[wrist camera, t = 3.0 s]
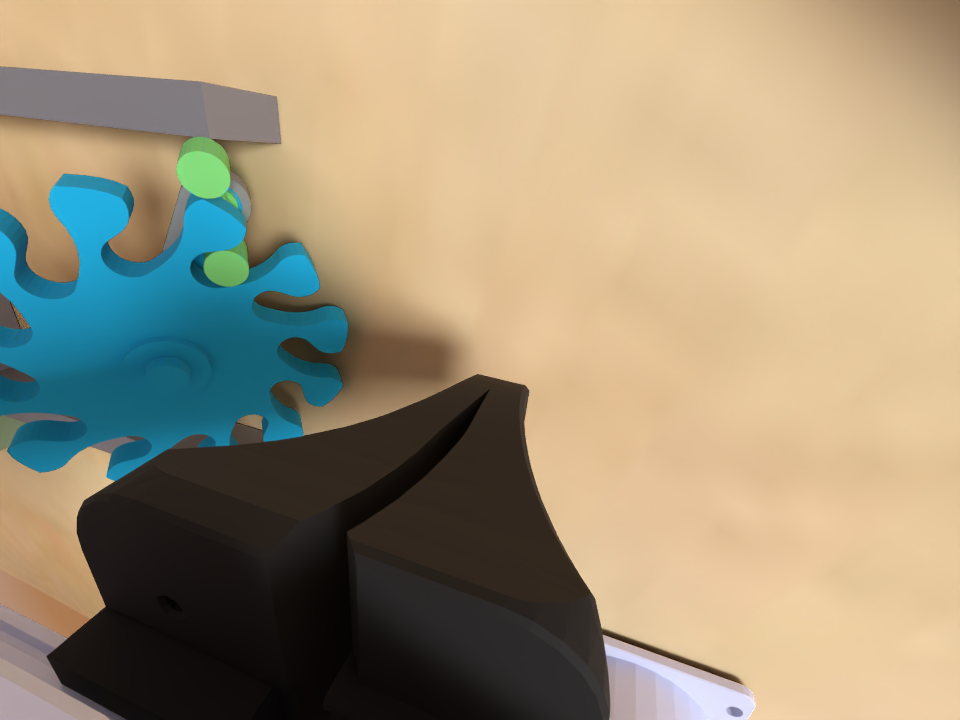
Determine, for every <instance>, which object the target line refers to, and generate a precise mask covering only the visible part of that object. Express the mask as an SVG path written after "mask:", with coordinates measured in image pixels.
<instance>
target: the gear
mask: <svg viewBox="0 0 960 720" xmlns="http://www.w3.org/2000/svg"><path fill="white" fill-rule="evenodd" d="M177 176H178V179H179V181H180V182H181V184H182V185H181V189H180V192H179V196H178V199H177V202H176V206H175V209H174V213H173V216H172V220H171V223H170V226H169V230H168V233H167V237H166V240H165V244H164V247H163V251H162V253H161V254H159V255H158V256H157V257H155V258H154V259H152V260H150V261H147V262H139V263H137V262H131V261H127V260H125V259H123V258H121V257H119V256H118V255H116V254H115V253H114V252H113V251H112V250H111V248H110V247H109V245H108V240H110V239H111V238H113V237H114V236H116V235H117V234H119V233H120V232H121V231H122V230H123V229H124V228H125V227H126V225H127V223H128V221H129V219H130V216H131V213H132V211H133V207H134V199H133V196H132V193H131V191H130V190H129V188H128V187H127V186H125V185H123V184H120V183H118V182H115V181H112V180H108V179H104V178H100V177H93V176H86V175H73V174H63V176H62V177H61V178H60V179H59V180H58V182H57V183H56V184H55V185H54V187H53V188H52V190H51V192H50V196H49V202H50V207H51V209H52V211H53V213H54V214H55V216H56V217H57V218H58V219H59V220H60V222H61V223H62V224H63V225H64V226H65V227H66V229H67V230H68V232H69V234H70V235H71V237H72V238H73V240H74V243H75V245H76V248H77V250H78V254H79V260H80V268H79V276H78V279H77V280H75V281H72V282H66V283H59V282H53V281H49V280H46V279H44V278H41V277H40V276H38V275H36V274H35V273H34V272H33V271H32V270H31V269H30V268H29V266H28V265H27V262H26V251H27V244H28V236H27V233H26V230H25V229H24V227H23V226H22V224H21V223H20V222H19V221H18V220H17V219H16V218H15V217H13V216H12V215H11V214H9V213H8V212H6V211H4V210H2V209H0V293H1V294H2V295H4V296H5V297H6V298H7V299H8V300H9V301H11V302H12V303H13V305H14V306H15V307H16V308H17V309H18V310H19V312H20V313H21V314H22V316H23V317H24V318H25V320H26V321H27V323H28V324H29V325H30V327H31V328H27V329H12V328H7V327H3V326H1V325H0V363H3V364H5V365H8V366H10V367H12V368H14V369H17V370H19V371H21V372H23V373H25V374H27V375H29V376H31V377H33V378H34V379H35V380H36V381H32V382H19V381H14V380H11V379H8V378H5V377H3V376H1V375H0V416H3V415H10V414H17V413H47V414H58V415H67V416H73V417H76V418H78V419H80V421H74V422H67V421H55V420H36V421H32V422H28V423H26V424H24V425H22V426H20V427H19V428H18V429H17V431H16V433H15V435H14V437H13V440H12V442H11V444H10V446H9V448H8V450H7V452H8V453H9V454H10V455H11V456H12V457H13V458H14V459H15V460H17V461H18V462H20V463H22V464H23V465H25V466H27V467H29V468H31V469H33V470H36V471H38V472H49V471H53V470H56V469H58V468H61V467H62V466H64V465H65V464H66V463H67V462H68V461H69V460H70V459H71V458H72V457H73V456H74V455H76V454H77V453H78V452H80V451H82V450H83V449H85V448H87V447H89V446H92V445H94V444H97V443H100V442H104V441H107V440H111V439H116V438H120V437H125V436H139V437H142V438H145V439H142V440H137V441H133V442H129V443H125V444H122V445H120V446H118V447H117V448H115V449H114V451H113V452H112V454H111V458H110V462H109V467H108V471H107V478H109V479H111V480H114V481H116V480H118V479H120V478H121V477H123V476H125V475H126V474H128V473H129V472H131V471H133V470H134V469H136V468H138V467H139V466H141V465H142V464H144V463H146V462H147V461H149V460H151V459H152V458H154V457H155V456H157V455H159V454H160V453H162V452H164V451H165V450H167V449H170V448H171V447H173V446H174V445H175V444H177V443H178V442H180V441H181V440H182V439H184V438H186V437H188V436H191V435H195V434H204V435H208V437H207V438H205V439H204V440H203V441H201V442H200V443H199V445H198V446H197V448H198V447H214V446H230V445H239V444H238V442H237V441H236V440H235V438H234V437H233V436H232V434H231V432H232V429H233V427H234V425H235V423H236V421H237V420H238V419H240V418H241V417H243V416H246V415H250V414H256V415H261V416H263V419H262V430H263V441H264V442H267V441H275V440H282V439H288V438H295V437H301V436H303V429H302V423H301V418H300V414H299V413H298V412H297V411H296V410H294V409H291V408H289V407H287V406H285V405H283V404H282V403H280V402H279V401H278V400H277V399H276V398H275V396H274V395H273V393H272V391H271V387H272V386H273V385H275V384H276V383H279V382H281V381H294V382H297V383H298V384H300V385H301V387H302V389H303V393H304V397H305V399H306V401H307V402H308V403H310V404H312V405H314V406H324V405H326V404H327V403H329V402H330V401H331V400H332V399H333V398H334V397H335V396H336V395H337V394H338V392H339V391H340V390H341V388H342V387H343V384H342V380H341V377H340V374H339V372H338V370H337V368H336V367H335V366H333V365H331V364H327V363H314V362H308V361H305V360H301V359H299V358H297V357H295V356H293V355H292V354H290V353H289V352H287V351H286V350H285V349H283V348H282V347H281V346H280V344H281V342H283V341H284V340H286V339H288V338H293V337H299V338H303V339H306V340H307V341H309V342H310V343H311V344H312V345H313V346H314V347H315V348H317V349H318V350H319V351H322V352H324V353H337V352H340V351H342V349H343V348H344V346H345V343H346V340H347V334H348V322H347V319H346V317H345V314H344V311H343V310H342V309H340V308H339V307H335V306H325V307H321V308H318V309H316V310H312V311H307V312H284V311H279V310H275V309H271V308H267V307H264V306H261V305H259V304H257V303H256V302H255V301H254V298H255V297H256V296H257V295H259V294H260V293H262V292H266V291H277V292H281V293H284V294H288V295H291V296H296V297H304V296H308V295H311V294H313V293H315V292H316V291H317V290H318V289H319V288H320V285H319V280H318V276H317V273H316V270H315V267H314V264H313V262H312V260H311V258H310V256H309V254H308V252H307V251H306V249H305V248H304V247H303V245H302V244H301V243H296V242H294V243H288V244H285V245H282V246H281V247H280V248H278V249H277V250H276V251H275V253H274V254H273V255H272V256H271V257H270V258H268V259H267V260H266V261H264V262H263V263H261V264H259V265H257V266H255V267H253V268H250V269H249V264H248V253H247V246H246V243H245V241H244V240H243V239H244V237H245V234H246V223H247V221H248V219H249V217H250V214H251V202H250V195H249V191H248V188H247V186H246V185H245V183H244V182H243V180H242V179H241V178H240V177H239V176H238V175H237V174H236V173H234V172H233V171H231V169H230V163H229V158H228V155H227V153H226V151H225V150H224V149H223V148H222V146H221V145H219V144H218V143H217V142H215V141H213V140H212V139H209V138H206V137H193V138H190V139H188V140H187V141H186V142H184V144H183V145H182V148H181V151H180V155H179V159H178V163H177Z"/></svg>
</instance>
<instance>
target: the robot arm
mask: <svg viewBox="0 0 960 720" xmlns="http://www.w3.org/2000/svg"><path fill="white" fill-rule="evenodd" d="M528 396H529V390H528V388H527V387H526V386H525V385H521V384H517V383H513V382H508V381H504V380H500V379H496V378H492V377H487V376H483V375H479V374H477V375H475V376H472V377H470V378H468V379H466V380H464V381H462V382H460V383H458V384H455V385H453V386H451V387H449V388H447V389H445V390H443V391H441V392H439V393H437V394H435V395H432V396H430V397H428V398H426V399H424V400H421V401H419V402H416V403H414V404H411V405H409V406H407V407H404V408H402V409H399V410H397V411H394V412H392V413H389V414H386V415H383V416H380V417H377V418H374V419H371V420H368V421H364V422H361V423H358V424H354V425H351V426H347V427H343V428H338V429H333V430H329V431H324V432H320V433H315V434H310V435H306V436H301V437H295V438H288V439H282V440H275V441H267V442H259V443H251V444H241V445H230V446H214V447H198V448H182V449H167V450H165V451H164V452H162V453H160V454H159V455H157V456H155V457H154V458H152V459H151V460H149V461H147V462H146V463H144V464H142V465H141V466H139V467H138V468H136V469H134V470H133V471H131V472H129V473H128V474H126V475H125V476H123V477H121V478H120V479H118V480H116V481H115V482H113V483H112V484H110V485H108V486H107V487H105V488H104V489H102V490H100V491H99V492H97V493H95V494H94V495H92V496H91V497H89V498H87V499H86V500H84V502H83V504H82V506H81V508H80V510H79V512H78V516H77V535H78V538H79V542H80V545H81V548H82V551H83V553H84V556H85V558H86V560H87V563H88V565H89V567H90V570H91V572H92V575H93V577H94V579H95V582H96V584H97V586H98V589H99V591H100V594H101V596H102V598H103V601H104V603H105V606H106V607H105V608H104V609H102V610H101V611H100V612H99V613H98V614H96V615H95V616H94V617H93V618H92V619H90V620H89V621H88V622H87V623H86V624H84V625H83V626H82V627H81V628H80V629H78V630H77V631H76V632H75V633H74V634H72V635H71V636H70V637H69V638H66V637H64V636H62V635H60V634H58V633H56V632H54V631H52V630H50V629H48V628H46V627H44V626H42V625H41V624H39V623H37V622H35V621H33V620H31V619H29V618H27V617H25V616H23V615H21V614H19V613H17V612H15V611H13V610H11V609H9V608H7V607H5V606H4V605H1V604H0V720H747V719H748V718H749V716H750V715H751V713H752V712H753V710H754V709H755V705H756V704H755V699H754V695H753V693H752V691H751V690H750V689H749V688H747V687H746V686H744V685H742V684H739V683H736V682H733V681H731V680H728V679H725V678H722V677H719V676H717V675H714V674H711V673H708V672H706V671H703V670H700V669H697V668H694V667H692V666H689V665H686V664H683V663H681V662H678V661H675V660H672V659H669V658H667V657H664V656H661V655H658V654H655V653H653V652H650V651H647V650H644V649H642V648H639V647H636V646H633V645H630V644H628V643H625V642H622V641H619V640H617V639H614V638H611V637H608V636H605V635H603V634H602V629H601V624H600V619H599V615H598V610H597V605H596V601H595V598H594V596H593V595H592V593H591V592H590V590H589V588H588V587H587V585H586V584H585V582H584V581H583V579H582V578H581V576H580V575H579V573H578V571H577V570H576V568H575V566H574V565H573V563H572V561H571V560H570V558H569V556H568V554H567V552H566V551H565V549H564V547H563V545H562V543H561V541H560V539H559V537H558V536H557V534H556V531H555V529H554V527H553V525H552V522H551V520H550V518H549V516H548V513H547V511H546V509H545V507H544V505H543V502H542V500H541V497H540V494H539V491H538V488H537V485H536V482H535V479H534V476H533V472H532V469H531V465H530V460H529V456H528V450H527V445H526V438H525V428H524V420H525V414H526V408H527V402H528Z"/></svg>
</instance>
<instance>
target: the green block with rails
mask: <svg viewBox="0 0 960 720" xmlns="http://www.w3.org/2000/svg"><path fill="white" fill-rule="evenodd" d="M0 115H8V116H17V117H25V118H34V119H43V120H51V121H60V122H69V123H77V124H86V125H95V126H103V127H112V128H121V129H129V130H138V131H147V132H155V133H164V134H173V135H181V136H190V137H206V138H209V139H221V140H236V141H251V142H266V143H281V137H280V126H279V116H278V105H277V97H276V96H271V95H266V94H260V93H255V92H250V91H245V90H240V89H235V88H230V87H225V86H220V85H215V84H210V83H205V82H198V81H185V80H172V79H159V78H145V77H132V76H119V75H106V74H93V73H80V72H67V71H54V70H41V69H27V68H14V67H1V66H0ZM0 325H1V326H3V327H7V328H12V329H20V327H19V324H18V322H17V319H16V316H15V314H14V311H13V309H12V306H11V304H10V301H9V300H8V299H7V298H6V297H5V296H4V295H2V294H1V293H0ZM0 375H1V376H3V377H5V378H8V379H11V380H14V381H19V382H32V381H36V380H35V379H34V378H33V377H31V376H29V375H27V374H25V373H23V372H21V371H19V370H17V369H14V368H12V367H10V366H8V365H5V364H3V363H0ZM36 420H55V421H67V422H74V421H80V419H78V418H76V417H73V416H67V415H58V414H47V413H17V414H10V415H3V416H0V450H2V449H5V448H7V447H9V446H10V444H11V442H12V440H13V437H14V435H15V433H16V431H17V429H18V428H19V427H20V426H22V425H24V424H26V423H28V422H32V421H36ZM231 434H232V436H233V437H234V438H235V440H236V441H237V442H238V444H239V445H241V444H251V443H259V442H264V441H263V431H261V430H258V429H255V428H251V427H248V426H245V425H242V424H238V423H235V425H234V427H233V429H232V432H231ZM207 437H208V435H204V434H195V435H191V436H188V437H186V438H184V439H182V440H181V441H180V442H178V443H177V444H175V445H174V446H173V447H171V448H170V449H182V448H197V446H198V445H199V443H200V442H201V441H203V440H204V439H205V438H207ZM142 439H145V438H142V437H139V436H125V437H120V438H116V439H111V440H107V441H104V442H100V443H97V444H94V445H92V446H91V447H94V448H97V449H99V450H102V451H105V452H108V453H111V454H112V452H113V451H114V449H115V448H117V447H118V446H120V445H122V444H125V443H129V442H133V441H137V440H142Z"/></svg>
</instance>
